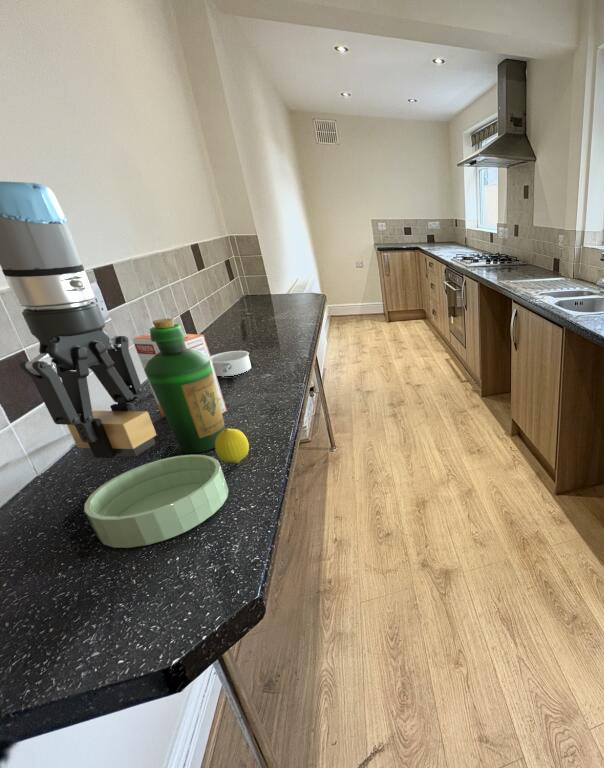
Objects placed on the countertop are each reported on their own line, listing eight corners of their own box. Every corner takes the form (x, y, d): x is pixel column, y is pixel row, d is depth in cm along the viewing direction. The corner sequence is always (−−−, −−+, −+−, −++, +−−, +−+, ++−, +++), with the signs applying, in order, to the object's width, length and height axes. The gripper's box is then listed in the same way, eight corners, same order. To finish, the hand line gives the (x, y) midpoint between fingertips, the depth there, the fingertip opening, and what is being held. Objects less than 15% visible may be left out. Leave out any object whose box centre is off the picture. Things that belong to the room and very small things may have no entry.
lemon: (248, 452, 87) (239, 419, 84) (256, 463, 84) (246, 428, 81) (218, 462, 84) (207, 428, 81) (224, 474, 80) (213, 438, 77)
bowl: (67, 549, 62) (50, 518, 60) (161, 480, 78) (150, 453, 76) (178, 552, 62) (165, 520, 59) (250, 482, 78) (242, 455, 75)
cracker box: (160, 418, 102) (129, 337, 94) (181, 407, 108) (154, 330, 100) (209, 422, 100) (182, 340, 92) (228, 411, 106) (204, 333, 97)
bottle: (234, 447, 89) (195, 322, 78) (173, 463, 84) (122, 330, 73) (232, 428, 97) (197, 312, 87) (176, 441, 92) (131, 318, 81)
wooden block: (81, 456, 64) (65, 423, 62) (107, 441, 68) (94, 410, 66) (136, 457, 64) (123, 424, 62) (160, 443, 68) (147, 411, 66)
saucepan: (206, 391, 117) (200, 373, 115) (213, 370, 134) (208, 354, 131) (252, 384, 123) (247, 366, 120) (253, 364, 139) (249, 348, 137)
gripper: (13, 319, 49) (89, 481, 58) (140, 293, 65) (184, 423, 74) (-47, 318, 49) (38, 479, 58) (94, 292, 65) (144, 422, 74)
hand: (120, 447), depth 66 cm, fingers closed on wooden block, 4 cm apart
